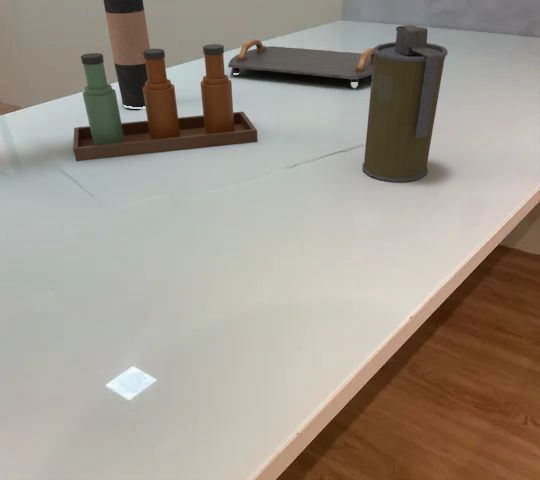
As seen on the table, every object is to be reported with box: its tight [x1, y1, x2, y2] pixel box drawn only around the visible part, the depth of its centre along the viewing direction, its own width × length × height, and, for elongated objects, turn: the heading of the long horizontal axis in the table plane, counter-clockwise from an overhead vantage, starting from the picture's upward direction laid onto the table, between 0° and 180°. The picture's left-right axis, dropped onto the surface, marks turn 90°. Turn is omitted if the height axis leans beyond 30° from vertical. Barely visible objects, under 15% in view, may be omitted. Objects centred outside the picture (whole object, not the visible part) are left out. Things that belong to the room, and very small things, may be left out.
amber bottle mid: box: [143, 48, 180, 140], centre depth 97 cm, size 5×5×14 cm
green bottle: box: [80, 52, 125, 145], centre depth 95 cm, size 5×5×14 cm
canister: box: [362, 24, 449, 183], centre depth 84 cm, size 11×10×20 cm
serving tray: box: [227, 38, 375, 82], centre depth 137 cm, size 39×23×6 cm, turn 64°
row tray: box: [72, 111, 258, 162], centre depth 101 cm, size 32×12×3 cm, turn 104°
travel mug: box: [102, 0, 151, 107], centre depth 114 cm, size 8×8×20 cm
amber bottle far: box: [200, 43, 234, 134], centre depth 98 cm, size 5×5×14 cm
